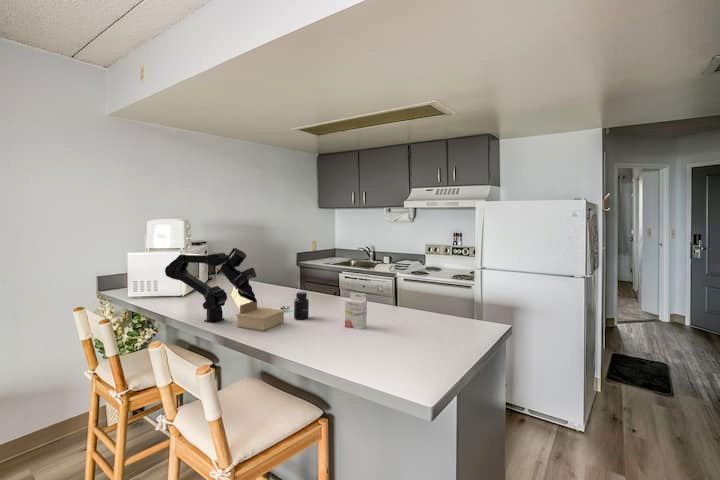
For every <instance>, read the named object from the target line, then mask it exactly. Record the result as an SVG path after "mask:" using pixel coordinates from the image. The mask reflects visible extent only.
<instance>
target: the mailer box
mask: <svg viewBox="0 0 720 480" xmlns="http://www.w3.org/2000/svg"><path fill="white" fill-rule="evenodd" d="M284 314H285V313H284V312H283V313H280V314H278V315H275V316H273V317H270V318H268V319H265V320H260V319H253V318H246V317H239V316H236V317H237V318H236V321H237V328H239V329H243V330H249V331H250V330H251V331H258V332H263V333H264V332H267V331H269V330H271V329H274V328H275V327H277V326H279V325H282V324H284V321H285V319H284Z"/></svg>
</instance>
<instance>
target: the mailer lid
mask: <svg viewBox="0 0 720 480" xmlns="http://www.w3.org/2000/svg"><path fill="white" fill-rule="evenodd" d="M283 312H285V310H283V309H276V308H268V307H260V306H258V301H257V302H253V301H250V302H247V303H244V304H243V303H242V304H241V305H239V313H237V314H236V317H237V316H239V317H246V318H253V319H260V320H265V319H268V318H270V317H273V316H275V315H278V314H280V313H283Z"/></svg>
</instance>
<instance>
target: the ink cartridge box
mask: <svg viewBox="0 0 720 480" xmlns="http://www.w3.org/2000/svg"><path fill="white" fill-rule="evenodd" d="M367 304H368V301H367V294H366V293H362V292H353V291H350V292H349V298H348V299H346V300H345V301H344V327H345V328H351V329H357V330H363V329H365V328H366V327H367V323H368V321H367V320H368V319H367V317H368V316H367V315H368V314H367V312H368V310H367V309H368V305H367Z"/></svg>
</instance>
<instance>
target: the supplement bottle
mask: <svg viewBox="0 0 720 480" xmlns="http://www.w3.org/2000/svg"><path fill="white" fill-rule="evenodd" d="M295 295H296V296H295V297H296V298H295V299H294V300H293V319H295V320H299V321H304V320H307V319H309V313H310V312H309V310H310V309H309V307H310V306H309V305H310V302H309V301H310V300H309V298H307V297H308V295H307V292H304V291H299V292H296V294H295Z"/></svg>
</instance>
